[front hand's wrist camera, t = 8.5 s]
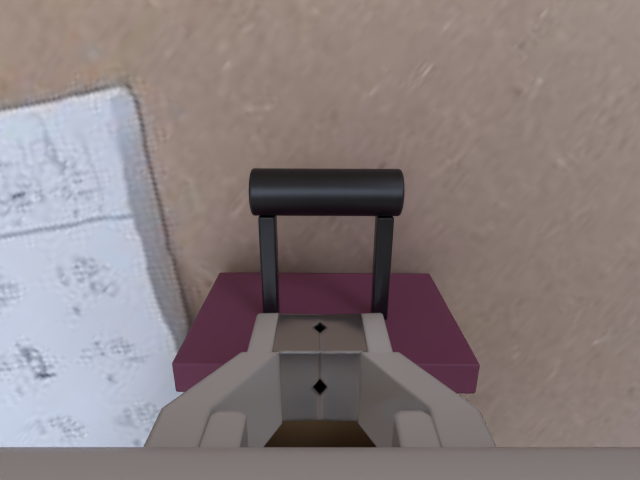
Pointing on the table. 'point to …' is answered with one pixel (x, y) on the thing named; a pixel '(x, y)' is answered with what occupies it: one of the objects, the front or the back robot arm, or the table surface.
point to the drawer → (327, 293)
